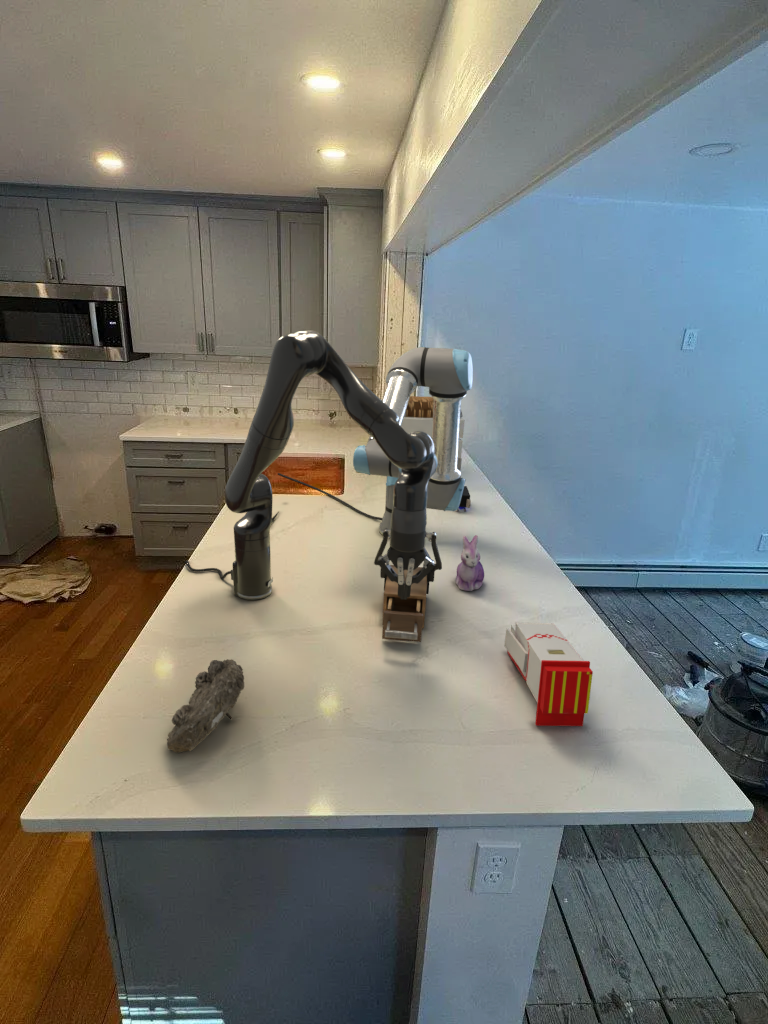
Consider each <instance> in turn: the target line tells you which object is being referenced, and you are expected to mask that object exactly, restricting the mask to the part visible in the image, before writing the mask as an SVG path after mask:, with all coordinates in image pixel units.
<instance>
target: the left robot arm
mask: <svg viewBox="0 0 768 1024" xmlns="http://www.w3.org/2000/svg"><path fill="white" fill-rule="evenodd" d="M314 374H315V375H317V376H318V377H320V378H321V379H323V380H324V381H326V383H328V384H329V385H330V386H331V387H332V388H333V390H334V391H335V393H336V394H337V396H338V397H339V400H340V402H341V404H342V406H343V408H344V410H345V412H346V413H347V415H348V416H349V417H350V419H351V420H352V421H353V422H354V423H355V424H356V425H358V427H360V428H361V429H362V430H363V431H364V432H365V433H367V434H368V435H369V436H371V437H373V438H374V439H375V441H376V442H377V444H378V446H379V447H380V448H381V450H382V451H383V452H384V454H385V455H386V456H387V458H388V459H389V460H390V461H391V462H392V463H393V464H394V465H395V466H397V467H398V468H400V469H402V470H401V474H400V476H399V478H398V479H397V481H396V482H395V486H394V497H393V509H392V515H391V533H390V539H389V547H388V549H387V552H386V554H384V555H382V556H379V558H378V564H379V565H378V566H379V568H380V569H381V568H382V570H383V571H384V572H385V574H386V575H387V576H388V578H389V579H390V580H391V581H392V582H394V581H395V582H397V583H398V597H401V598H400V599H404V600H407V597H410V593H411V585H412V584H413V583H416V584H418V583H419V582H420V581H421V580H422V579H423V578H424V577H425V576H426V575H427V574H428V573H429V572H430V571H431V570H432V569H433V568H434V564H435V559H432V558H431V560H430V559H429V558H428V557H426V552H425V549H426V547H425V545H426V538H425V533H427V520H428V516H427V515H428V514H427V508H426V502H427V486H428V482H429V479H430V475H431V471H432V466H433V462H434V455H435V449H434V443H433V441H432V439H431V437H430V436H429V435H428V434H426V433H425V432H422V431H415V432H412V433H409V434H408V433H407V432H406V431H405V430H404V429H403V428H402V427H401V426H400V425H399V417H398V415H397V414H396V413H395V412H394V411H393V410H392V409H391V408H390V407H389V406H388V405H387V404H385V403H384V402H383V401H382V399H381V398H380V397H379V396H377V395H376V394H375V393H374V392H373V391H372V390H371V389H370V388H368V387H367V386H366V384H365V383H364V382H363V381H362V380H361V379H360V377H358V375H356V373H355V372H354V371H353V370H352V369H351V368H350V367H349V365H348V364H347V363H346V362H345V360H344V359H343V357H341V356H340V354H338V352H337V350H336V349H335V348H334V347H333V346H332V345H331V344H330V343H329V341H327V339H326V338H325V337H324V336H323V335H322V334H320V333H319V332H318V331H316V330H314V329H302V330H298V331H294V332H289V333H286V334H284V335H282V336H280V338H278V339H277V341H276V342H275V344H274V346H273V348H272V352H271V356H270V360H269V365H268V369H267V374H266V379H265V382H264V386H263V390H262V392H261V396H260V398H259V401H258V405H257V408H256V411H255V413H254V415H253V417H252V420H251V423H250V426H249V429H248V432H247V436H246V439H245V442H244V444H243V446H242V450H241V452H240V454H239V457H238V460H237V462H236V464H235V465H234V467H233V469H232V471H231V473H230V475H229V477H228V479H227V482H226V485H225V487H224V488H225V489H224V502H225V505H226V507H227V508H228V510H229V511H230V512H232V513H235V514H244V515H243V516H242V517H241V518H240V519H238V520H237V521H236V522H235V523H234V525H233V539H234V559H235V560H234V561H233V562H232V569H230V570H229V571H226V572H225V573H224V574H223V572H222V570H221V569H219V568H217V567H208V568H193V567H192V566H191V565H190V561H189V560H185V561H184V562H183V564H186V566H187V568H188V570H189V571H191V572H195V573H202V572H203V573H204V572H210V571H211V572H218V574H219V578H221V579H225V578H227V576H228V575H230V580H232V581H233V596H237V597H239V598H240V599H243V600H245V601H246V600H248V601H256V600H257V601H258V600H263V599H265V598H267V597H269V596H270V595H271V594H272V591H273V587H272V586H273V585H272V584H273V582H274V577H273V576H272V563H271V562H272V561H271V560H272V559H271V532H270V531H271V526H272V525H273V523H272V518H273V503H274V502H273V501H274V500H273V498H274V497H273V488H272V487H273V486H272V483H271V481H270V480H269V478H268V476H266V475H265V474H264V473H263V472H264V471H265V470H267V468H268V467H269V466H271V465H272V464H273V463H274V462H275V461H276V460H277V459H278V458H279V457H280V456H281V454H282V453H283V452H284V451H285V449H286V447H287V445H288V442H289V440H290V437H291V435H292V433H293V429H294V424H295V419H294V413H293V408H292V407H293V406H292V403H293V398H294V397H295V393H296V391H297V389H298V388H299V385H300V384H301V382H302V381H303V379H304V378H305V377H309V376H311V375H314ZM424 547H425V549H424ZM389 559H390V561H389ZM390 562H391V564H392V565H394V566H395V567H396V568H397V569H398V574H396V572H395V571H394V570H393V569H392V567H391V566H390V565H391V564H390ZM187 563H188V564H187ZM421 564H422V566H421ZM420 566H421V567H422V568H421V569H420V570H419V571H418V572H417V573H416V574H415V575H413V570H415V569H417V568H418V567H420ZM404 570H407V577H406V581H404Z"/></svg>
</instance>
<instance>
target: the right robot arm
mask: <svg viewBox="0 0 768 1024" xmlns="http://www.w3.org/2000/svg"><path fill="white" fill-rule="evenodd" d="M473 368H474V367H473V359H472V355H471V353H470V352H469V351H468V350H465V349H457V348H449V347H447V348H446V347H445V348H444V347H426V346H418V347H414V348H411V349H409V350H408V351H405V352H404V353H403V354H401V355H400V356H399V357H398V358H396V359H395V361H394V362H393V363H392V364H391V366H390V368H389V369H388V372H387V374H386V377H385V384H386V387H385V390H384V392H383V396H382V399H381V400H382V401H383V402H384V403H385V404H387V405H388V406H389V407H390V408H391V409H392V410H393V411H394V412H395V413H396V414H397V415H398V417H399V425H400V426H401V424H402V421H403V418H404V415H405V411H406V408H407V405H408V402H409V399H410V396H411V395H412V394H413V393H414V392H415V391H416V390H417V387H426V388H428V395H429V396H430V397H433V399H434V404H433V428H432V441H433V443H434V449H435V455H434V462H433V466H432V471H431V475H430V479H429V482H428V486H427V502H426V509H428V510H436V511H443V512H456V511H457V509H458V508H459V505H460V501H461V497H462V493H463V489H464V486H466V485H465V484H466V479H465V478H464V477H462V473H461V472H462V471H461V472H460V471H459V470H458V469H457V457H458V441H459V426H460V410H461V411H462V401H463V399H465V397H466V396H467V393H468V391H471V390H472V388H473V378H474V369H473ZM352 465H353V469H354V471H355V472H356V473H360V474H363V475H368V476H381V477H386V482H385V504H384V505H385V507H384V508H385V509H384V513H383V515H382V517H380V516H375V515H371V514H369V513H366V512H364V511H363V510H362V511H361V510H360V509H358V508H356V507H354V506H353V505H351V504H349V503H348V502H346V501H344V500H342V499H341V498H339V497H337V496H335V495H333V494H331V493H329V492H327V491H325V490H322V489H320V488H318V487H316V486H313V485H311V484H309V483H306V482H303V481H301V480H299V479H295V478H293V477H290V476H287V475H285V474H282V473H281V472H278V473H277V476H280V477H282V478H285V479H287V480H290V481H292V482H295V483H297V484H300V485H302V486H306V487H308V488H310V489H313V490H315V491H317V492H320V493H322V494H323V495H326V496H328V497H330V498H332V499H334V500H335V501H337V502H339V503H341V504H342V505H345V506H347V507H348V508H350V509H351V510H352V511H354V512H356V513H358V514H360V515H362V516H364V517H366V518H369V519H372V520H377V521H381V522H379V525H378V533H379V534H380V535H381V536H382V540H381V543H380V545H379V547H378V550H377V553H376V555H375V557H374V560H373V565H375V566H379V564H378V558H379V556H383V553H384V552H385V548H386V547H387V545H388V540H390V533H391V515H392V509H393V497H394V486H395V482H396V481H397V479H398V478H399V476H400V474H401V470H402V469H400V468H398V467H397V466H395V465H394V464H393V463H392V462H391V461H390V460H389V459H388V458H387V456H386V455H385V454H384V452H383V451H382V450H381V448H380V447H379V446H378V444H377V442H376V441H375V439H374V438H373V437H371V436H370V435H369V437H368V440H367V441H366V444H363V445H358V446H357V447H355V449H354V452H353V456H352ZM426 538H427V540H428V542H429V543H430V545H431V550H432V554H433V557H434V562H435V563H434V568H433V569H432V570H431V571H430V572H429V573H428V574H427V591H426V595H429V593H430V583H434V581H435V573H436V571H442V569H443V563H442V562H443V561H442V558H441V555H440V550H439V548H438V543H437V532H436V531H432V532H426V533H425V539H426ZM424 549H425V552H426V557H428V558H429V559H430V560H431V559H432V558H431V556H430V554H429V552H428V551H427V548H426V547H424ZM389 562H391V560H390V559H389ZM379 575H380V579H384V580H383V591H384V590H385V585H386V579H387V575H386V574H385V572H384V571H383V570H382V568H381V567H380V574H379Z"/></svg>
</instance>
